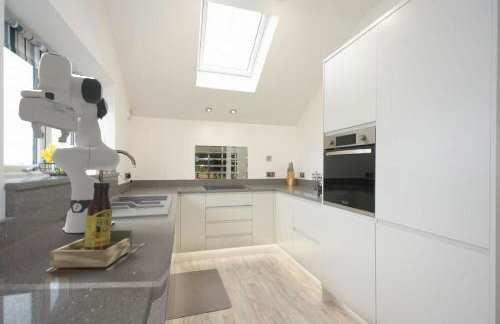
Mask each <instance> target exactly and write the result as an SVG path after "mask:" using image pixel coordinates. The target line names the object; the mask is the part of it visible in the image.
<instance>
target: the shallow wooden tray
mask: <svg viewBox="0 0 500 324" xmlns="http://www.w3.org/2000/svg"><path fill="white" fill-rule="evenodd" d="M85 231H86V230H85ZM85 231H84V232H83V233H84V237H83V238H81V239H77V240H75V241H73V242H70V243H68V244H66V245H62V246H61V247H58V248H55V249H53V250H51V251H50V253H49V267H48V269H49V268H62V267H103V268H108V267H109V266H110V264H111V263H112V262H114V261H115V260H117V259H118V258H119V257H121V256H122V255H124V254H127V253H128V251H129V250H131V244H133V242H132V241H133V229H111V234H110V244H109V248H108V249H106V250H84V249H85V246H84V243H85Z"/></svg>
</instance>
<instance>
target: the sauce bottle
mask: <svg viewBox="0 0 500 324" xmlns="http://www.w3.org/2000/svg"><path fill="white" fill-rule="evenodd" d="M110 187H111V184H110V182H100V183H94V195H93V200H92V201H91V202H90V204H89V206H88V212H87V219H86V231H85V243H84V246H85V249H84V250H106V249H108V248H109V244H110V234H111V230H112V225H111V221H113V220H112V217H113V216H112V215H113V214H112V213H113V208H112V205H111V202H110V201H111V200H110V198H109V190H110Z"/></svg>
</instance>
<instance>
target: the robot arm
mask: <svg viewBox="0 0 500 324" xmlns="http://www.w3.org/2000/svg"><path fill="white" fill-rule="evenodd" d="M72 66H73V65H72V61H71V59H70V58H69V57H67V56H65V55H63V54H60V53H59V54H58V53H54V52H43V53H42V54H41V57H40V60H39V64H38V70H37V71H38V72H37V84H38V85H37V86H36V89H22V90H21V91H20V96H21V98H20V101H19V106H18V116H19V118H20V120H21V121H24V122H28V123H31V125H30V127H31V128H32V130H33V132H34V138H35V139H39V140H40V139H44V138H45V133H44V132H43V130H42V127H47V128H51V129H55V130H58V131H60V134H61V135H60V136H59V137H58V143H60V144H66V143H68V142H67V141H68V140H67V139H68V137H69V136H70V134H71V133H74V143H75V145H63V146H62V145H61V146H58V147H56V148H55V150H54V151H53V152H52V162H53V163H54V165H55V166H56V167H57V168H58V169H60V170H62V171H63V172H64V173H65V174H66V175H67V177H68V178H69V182H70V184H71V185H70V186H71V198H70V200H69V208H70V209H69V210H68V211H67V213H66V218H65V219H66V220H65V225H64V227H62V231H64V232H65V233H67V234H80V233H84V231H85V230H86V219H87V212H88V206H89V204H90V202H91V201H92V200H93V195H94V183H101V182H100V180H99V179H98V178H95V177H93V176H91V175H88V173H87V172H86V171H89V170H92V171H94V170H95V171H107V170H113V169H115V168H116V167H117V166H119V164H120V160H121V159H120V155H119V153H118V151H117V150H116V149H113V148H111V147H109V146H108V145H106V143H104V142H103V139H102V130H101V127H100V125H99V124H100V123H99V119H100V120H101V121H102V120H103V118H104V117H106V115H108V112H109V104H108V102H107V100H106V99H105V98H104V97H103V96H104V91H103V90H104V89H103V86H102V84H101V82H100V81H99V80H98V79H97V78H95V77H89V76H88V77H87V76H82V75H81V76H80V75H76V74H73V67H72ZM114 222H115V221H113V220H111V224H112V223H114Z"/></svg>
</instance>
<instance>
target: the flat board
mask: <svg viewBox="0 0 500 324" xmlns="http://www.w3.org/2000/svg"><path fill="white" fill-rule="evenodd" d="M145 245H146V242H142V243H132V244H131V250H129V251H128V253H127V254H124V255H122V256H121V257H119V258H118V259H117V260H115V261H114V262H112V263H111V264H110V266H109V267H108V268H103V267H62V268H49V267H48V269H45V271H44V272H45V273H53V272H54V273H57V272H58V273H59V272H61V273H62V272H65V273H66V272H111V271H112V270H113V269H114V268H115V267H117V266H119V265H120V264H121V263H123V262H124V261H125V260H126V259H128V258H129V257H131V256H132V255H133V254H134V253H135V252H137V251H138V250H140V249H141V248H142V247H144V246H145Z"/></svg>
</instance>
